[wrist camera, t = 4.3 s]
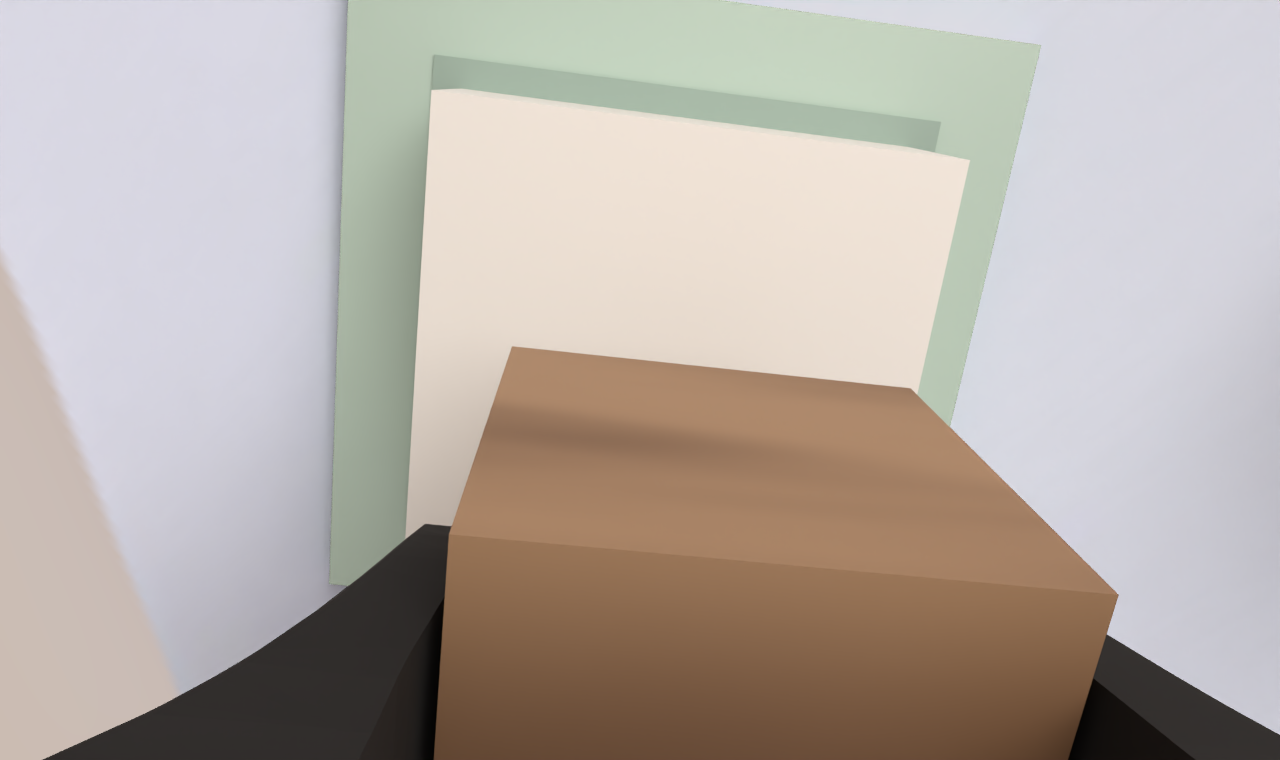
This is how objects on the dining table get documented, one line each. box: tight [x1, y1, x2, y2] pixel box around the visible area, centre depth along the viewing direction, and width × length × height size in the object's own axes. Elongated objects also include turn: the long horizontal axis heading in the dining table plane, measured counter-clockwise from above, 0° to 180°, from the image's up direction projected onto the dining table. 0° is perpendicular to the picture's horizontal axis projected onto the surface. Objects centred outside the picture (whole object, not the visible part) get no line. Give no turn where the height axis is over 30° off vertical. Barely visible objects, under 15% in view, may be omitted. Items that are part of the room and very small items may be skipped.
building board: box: [329, 0, 1041, 586], centre depth 18 cm, size 12×12×1 cm
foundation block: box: [405, 88, 970, 539], centre depth 16 cm, size 8×8×3 cm
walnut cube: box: [434, 346, 1118, 760], centre depth 10 cm, size 5×5×5 cm
